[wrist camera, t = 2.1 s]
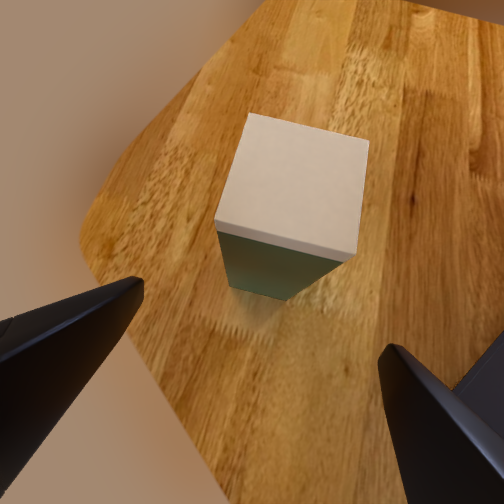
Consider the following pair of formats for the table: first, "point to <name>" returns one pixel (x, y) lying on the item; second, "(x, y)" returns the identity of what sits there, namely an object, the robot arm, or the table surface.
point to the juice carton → (290, 206)
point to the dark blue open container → (486, 386)
